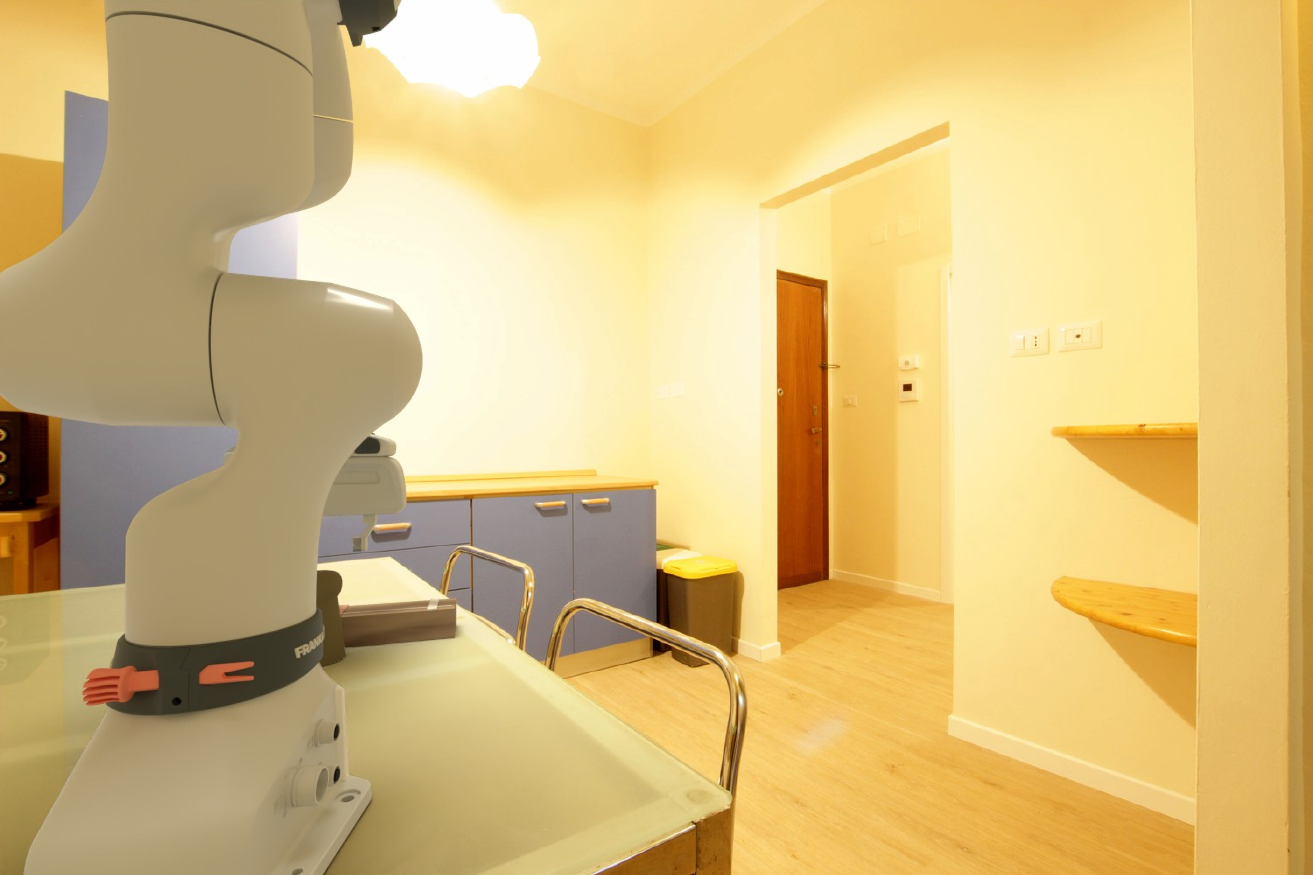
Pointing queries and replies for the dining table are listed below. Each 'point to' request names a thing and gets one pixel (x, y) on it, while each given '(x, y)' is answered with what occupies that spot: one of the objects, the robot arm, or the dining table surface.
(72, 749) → the dining table surface
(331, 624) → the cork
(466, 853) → the dining table surface
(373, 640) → the walnut plank
